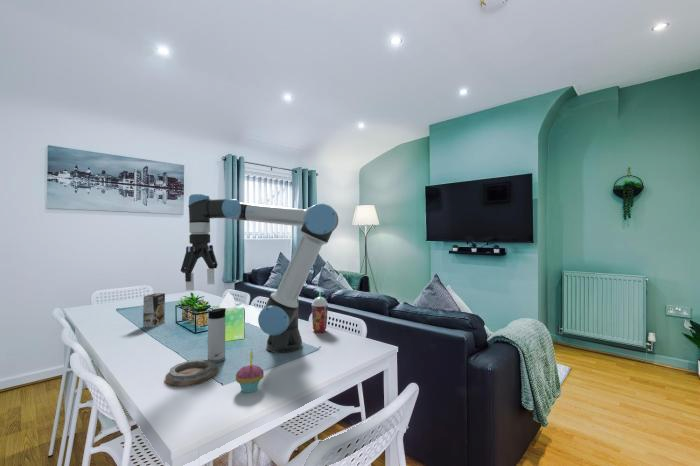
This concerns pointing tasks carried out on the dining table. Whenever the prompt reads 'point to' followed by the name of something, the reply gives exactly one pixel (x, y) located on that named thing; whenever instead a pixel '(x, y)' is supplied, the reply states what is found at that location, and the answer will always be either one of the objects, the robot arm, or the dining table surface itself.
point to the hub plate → (191, 373)
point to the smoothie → (319, 314)
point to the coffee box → (154, 310)
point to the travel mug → (216, 335)
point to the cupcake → (249, 376)
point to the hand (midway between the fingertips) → (201, 287)
